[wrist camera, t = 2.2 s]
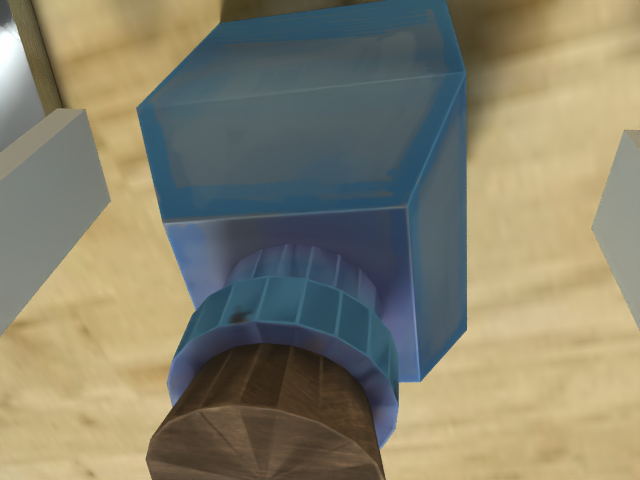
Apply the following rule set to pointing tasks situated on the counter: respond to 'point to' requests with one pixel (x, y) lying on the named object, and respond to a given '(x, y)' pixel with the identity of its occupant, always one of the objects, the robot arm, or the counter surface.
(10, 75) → the flange
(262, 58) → the perfume bottle
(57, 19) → the counter surface
